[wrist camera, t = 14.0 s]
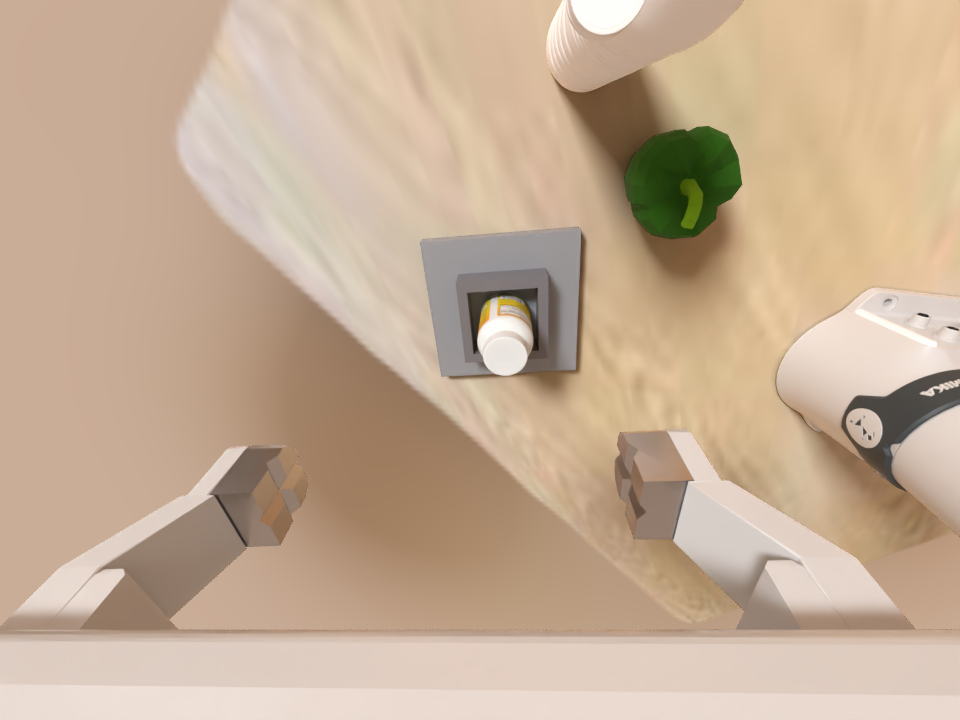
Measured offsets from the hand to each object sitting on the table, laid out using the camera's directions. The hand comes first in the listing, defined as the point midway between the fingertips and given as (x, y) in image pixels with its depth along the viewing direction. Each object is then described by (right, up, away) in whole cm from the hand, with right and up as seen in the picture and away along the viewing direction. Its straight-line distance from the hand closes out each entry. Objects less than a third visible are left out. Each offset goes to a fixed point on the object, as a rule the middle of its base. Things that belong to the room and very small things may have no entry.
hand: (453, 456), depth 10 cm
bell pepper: (+17, +20, +27) cm, 38 cm away
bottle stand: (+3, +9, +34) cm, 36 cm away
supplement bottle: (+3, +8, +33) cm, 34 cm away
